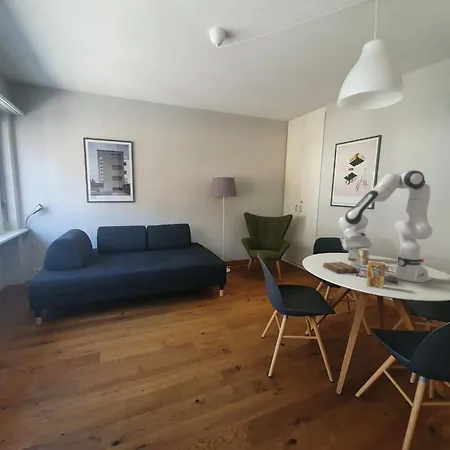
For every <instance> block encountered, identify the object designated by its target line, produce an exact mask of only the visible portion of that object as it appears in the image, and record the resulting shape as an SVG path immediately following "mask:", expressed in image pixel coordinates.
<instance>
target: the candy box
mask: <svg viewBox="0 0 450 450" xmlns="http://www.w3.org/2000/svg"><path fill="white" fill-rule="evenodd" d="M385 270H386V263H385V262H382V261H381V262H380V261H376V260H375V261H374V260H368V265H367V274H366V286H367V287H373V288H377V289H378V288H379V289H383V288H384V281H385V273H386V271H385Z"/></svg>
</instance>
